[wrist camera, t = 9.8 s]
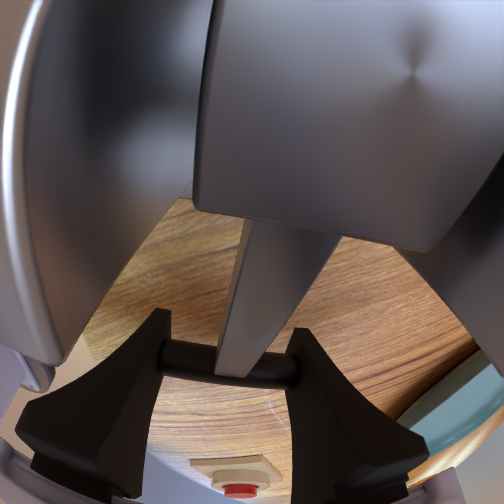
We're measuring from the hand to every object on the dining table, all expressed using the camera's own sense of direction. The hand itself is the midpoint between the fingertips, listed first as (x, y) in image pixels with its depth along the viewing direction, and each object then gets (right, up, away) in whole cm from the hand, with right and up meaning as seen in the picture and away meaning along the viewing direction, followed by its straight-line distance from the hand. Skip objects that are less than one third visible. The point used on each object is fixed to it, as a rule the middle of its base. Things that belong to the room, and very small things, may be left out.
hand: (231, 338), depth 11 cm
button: (-1, -23, +11) cm, 26 cm away
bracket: (+2, +9, -2) cm, 9 cm away
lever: (+1, +3, -5) cm, 6 cm away
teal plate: (+24, -13, +10) cm, 29 cm away
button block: (-1, -22, +13) cm, 26 cm away
